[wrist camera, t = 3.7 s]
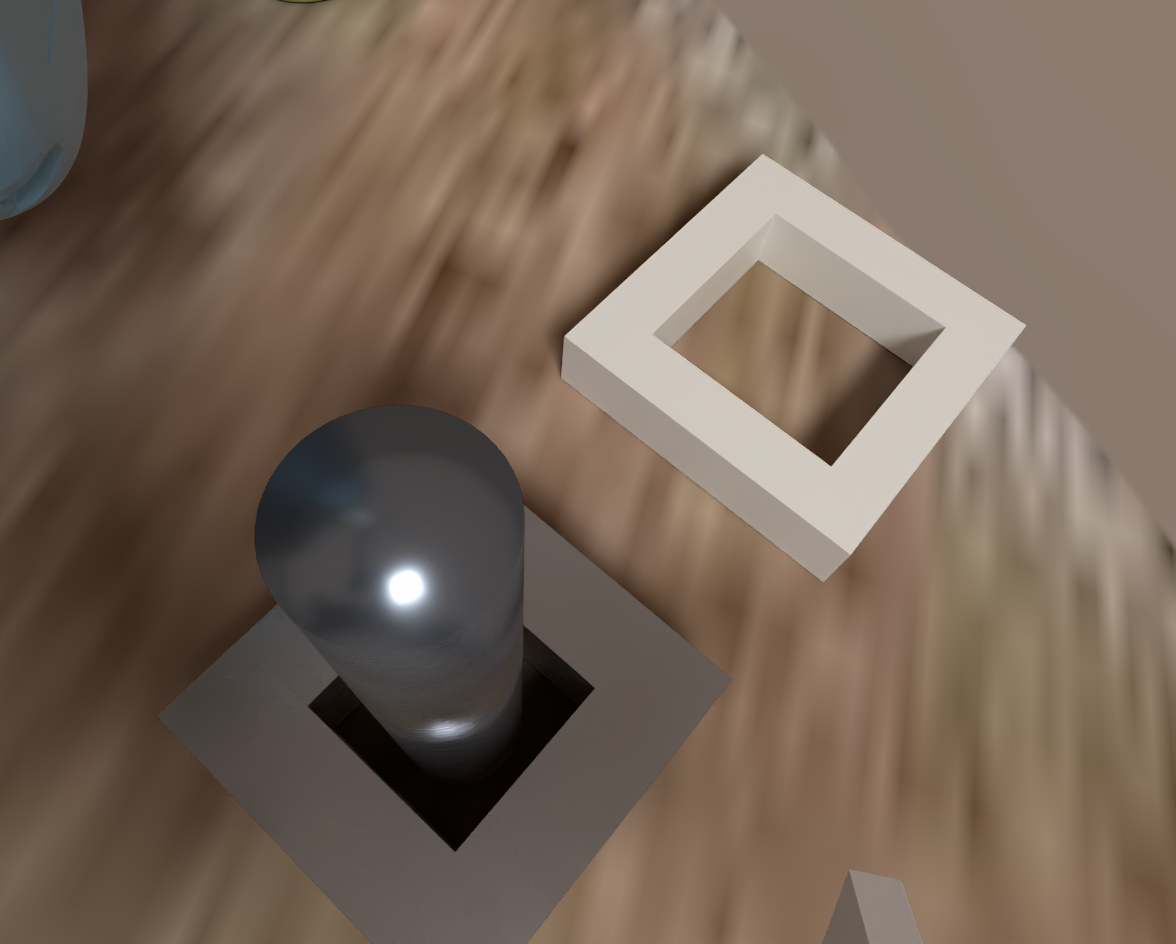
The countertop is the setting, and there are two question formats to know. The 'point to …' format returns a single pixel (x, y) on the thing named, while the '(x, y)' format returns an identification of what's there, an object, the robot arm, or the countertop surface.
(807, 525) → the block
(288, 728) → the socket block
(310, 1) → the plant pot
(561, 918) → the countertop surface
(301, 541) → the rod
